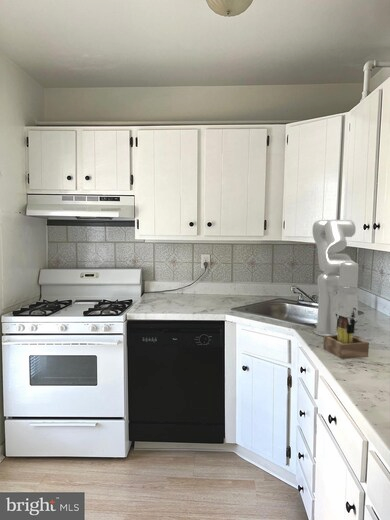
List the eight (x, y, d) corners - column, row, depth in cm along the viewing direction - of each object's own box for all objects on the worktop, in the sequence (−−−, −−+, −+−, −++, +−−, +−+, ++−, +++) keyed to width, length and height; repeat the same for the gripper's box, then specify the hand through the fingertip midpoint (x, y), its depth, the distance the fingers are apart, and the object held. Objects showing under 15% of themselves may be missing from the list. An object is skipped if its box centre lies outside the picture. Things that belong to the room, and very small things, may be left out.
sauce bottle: (348, 347, 166) (350, 303, 164) (354, 352, 160) (357, 307, 158) (333, 347, 166) (336, 303, 164) (339, 352, 159) (342, 307, 157)
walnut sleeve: (323, 348, 167) (324, 335, 167) (348, 346, 171) (349, 334, 170) (341, 359, 155) (342, 345, 154) (368, 356, 158) (369, 343, 158)
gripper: (327, 287, 167) (325, 325, 169) (353, 294, 151) (351, 337, 153) (342, 286, 169) (340, 325, 171) (369, 293, 153) (366, 336, 154)
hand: (345, 330), depth 162 cm, fingers closed on sauce bottle, 6 cm apart
